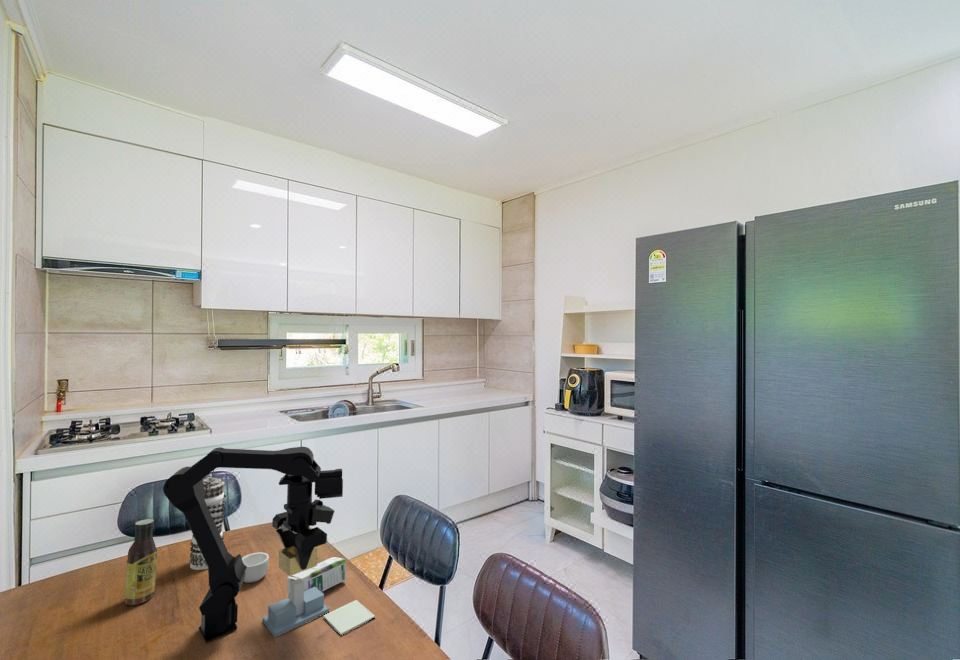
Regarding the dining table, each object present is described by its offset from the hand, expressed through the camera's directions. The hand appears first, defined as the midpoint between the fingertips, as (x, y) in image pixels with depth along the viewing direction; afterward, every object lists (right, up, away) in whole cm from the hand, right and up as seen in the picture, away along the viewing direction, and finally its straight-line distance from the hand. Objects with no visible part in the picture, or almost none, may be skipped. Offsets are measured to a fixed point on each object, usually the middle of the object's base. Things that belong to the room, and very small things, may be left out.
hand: (297, 563), depth 105 cm
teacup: (-20, -13, +17) cm, 29 cm away
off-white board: (+13, -13, 0) cm, 18 cm away
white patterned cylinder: (-38, -13, +24) cm, 47 cm away
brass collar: (0, -1, 0) cm, 1 cm away
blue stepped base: (0, -13, 0) cm, 13 cm away
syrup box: (+5, -10, +17) cm, 20 cm away
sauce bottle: (-43, -13, +6) cm, 46 cm away
